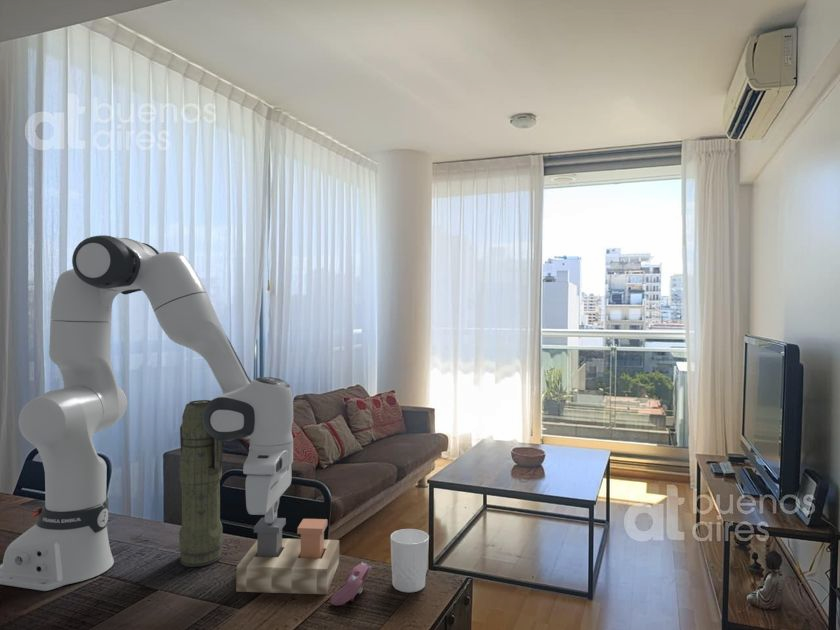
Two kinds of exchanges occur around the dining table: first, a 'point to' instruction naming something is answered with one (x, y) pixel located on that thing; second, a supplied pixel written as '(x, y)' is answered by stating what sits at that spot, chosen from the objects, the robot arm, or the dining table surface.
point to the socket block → (288, 570)
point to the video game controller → (351, 584)
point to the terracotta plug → (312, 537)
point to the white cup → (409, 559)
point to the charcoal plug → (269, 537)
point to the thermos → (199, 490)
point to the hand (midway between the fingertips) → (270, 520)
